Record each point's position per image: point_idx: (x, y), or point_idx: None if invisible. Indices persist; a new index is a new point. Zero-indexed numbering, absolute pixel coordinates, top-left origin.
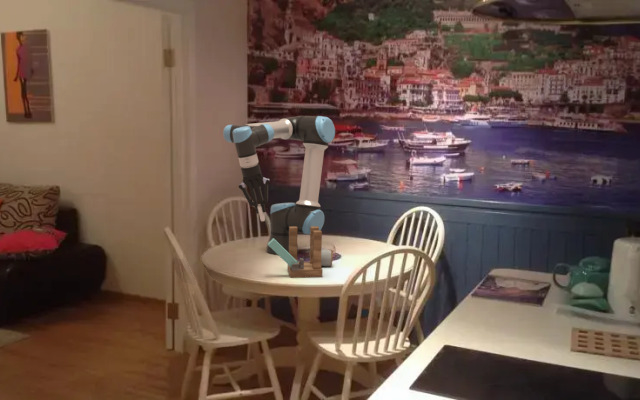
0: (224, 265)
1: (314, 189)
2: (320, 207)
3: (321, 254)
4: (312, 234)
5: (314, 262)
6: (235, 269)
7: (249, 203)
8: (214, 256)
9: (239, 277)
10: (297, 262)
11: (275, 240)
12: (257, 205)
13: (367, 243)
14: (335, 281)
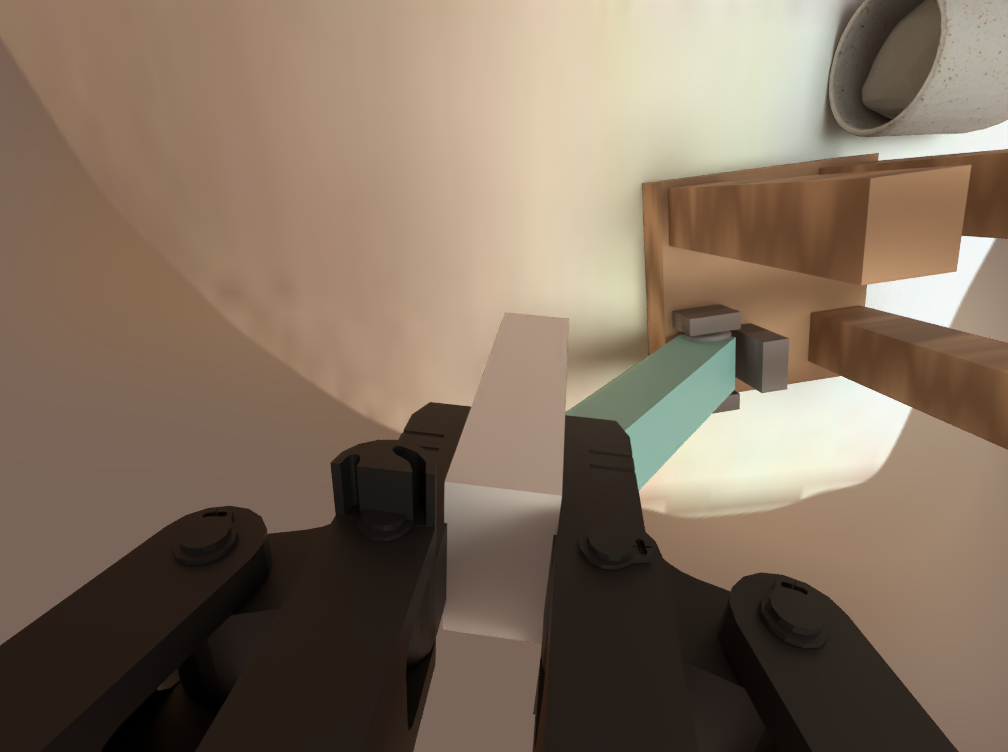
0: (158, 94)
1: None
2: None
3: (951, 117)
4: None
5: (844, 374)
6: (277, 213)
7: (175, 723)
8: None
9: (348, 403)
10: (733, 383)
11: (634, 451)
12: (441, 611)
13: None
14: (876, 432)
